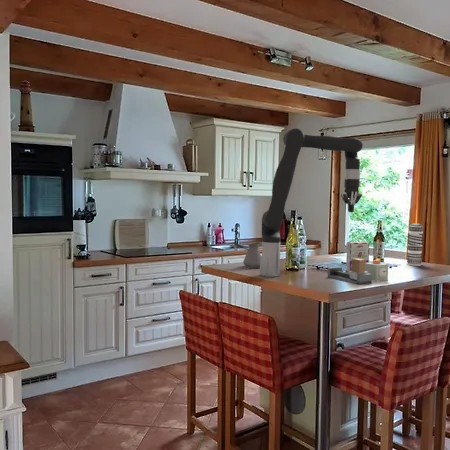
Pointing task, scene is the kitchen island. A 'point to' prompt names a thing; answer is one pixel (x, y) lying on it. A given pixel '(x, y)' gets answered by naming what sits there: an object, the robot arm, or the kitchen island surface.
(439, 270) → the kitchen island surface
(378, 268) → the gauge cabinet
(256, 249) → the coffee pot
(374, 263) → the button
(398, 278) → the kitchen island surface
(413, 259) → the decorative candle
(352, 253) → the candy bar box
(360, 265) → the carriage
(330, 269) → the rail
